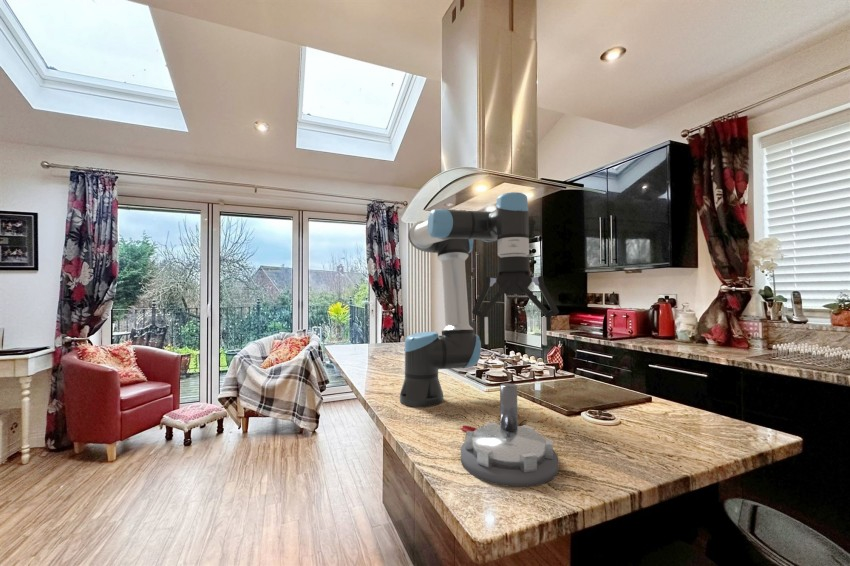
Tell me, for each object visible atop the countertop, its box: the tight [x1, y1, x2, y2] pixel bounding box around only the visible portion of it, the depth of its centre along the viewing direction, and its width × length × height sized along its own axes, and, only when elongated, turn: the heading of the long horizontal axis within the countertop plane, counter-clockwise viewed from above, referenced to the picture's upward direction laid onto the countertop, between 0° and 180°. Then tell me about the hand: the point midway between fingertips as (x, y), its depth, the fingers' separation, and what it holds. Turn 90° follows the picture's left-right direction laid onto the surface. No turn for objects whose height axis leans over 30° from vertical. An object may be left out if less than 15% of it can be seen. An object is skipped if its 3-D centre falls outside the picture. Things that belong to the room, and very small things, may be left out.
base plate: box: [460, 442, 559, 488], centre depth 79 cm, size 21×21×2 cm
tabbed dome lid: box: [464, 382, 554, 472], centre depth 80 cm, size 18×19×13 cm
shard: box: [496, 413, 527, 426], centre depth 103 cm, size 11×8×2 cm
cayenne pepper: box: [460, 425, 477, 434], centre depth 96 cm, size 12×5×2 cm, turn 17°
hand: (515, 344), depth 87 cm, fingers open, 13 cm apart
